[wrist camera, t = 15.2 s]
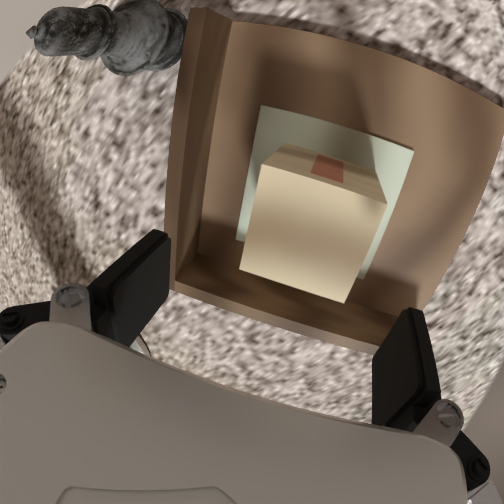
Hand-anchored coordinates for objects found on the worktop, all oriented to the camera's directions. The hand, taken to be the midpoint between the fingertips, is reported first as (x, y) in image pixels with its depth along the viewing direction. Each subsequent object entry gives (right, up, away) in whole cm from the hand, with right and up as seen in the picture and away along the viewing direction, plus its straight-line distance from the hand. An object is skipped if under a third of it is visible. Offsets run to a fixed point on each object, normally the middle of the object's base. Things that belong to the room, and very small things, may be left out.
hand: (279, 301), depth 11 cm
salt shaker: (-8, +18, +7) cm, 20 cm away
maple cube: (+3, +5, +8) cm, 11 cm away
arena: (+5, +7, +9) cm, 12 cm away
